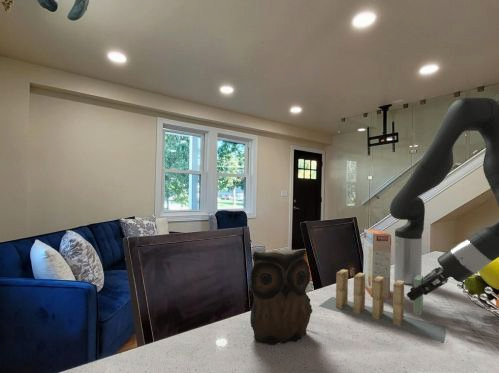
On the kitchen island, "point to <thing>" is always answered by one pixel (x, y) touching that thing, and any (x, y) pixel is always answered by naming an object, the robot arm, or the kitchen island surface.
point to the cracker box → (377, 259)
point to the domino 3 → (378, 297)
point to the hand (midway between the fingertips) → (411, 294)
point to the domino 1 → (341, 288)
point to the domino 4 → (398, 302)
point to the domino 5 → (419, 301)
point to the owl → (280, 296)
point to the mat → (386, 319)
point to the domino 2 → (359, 293)
